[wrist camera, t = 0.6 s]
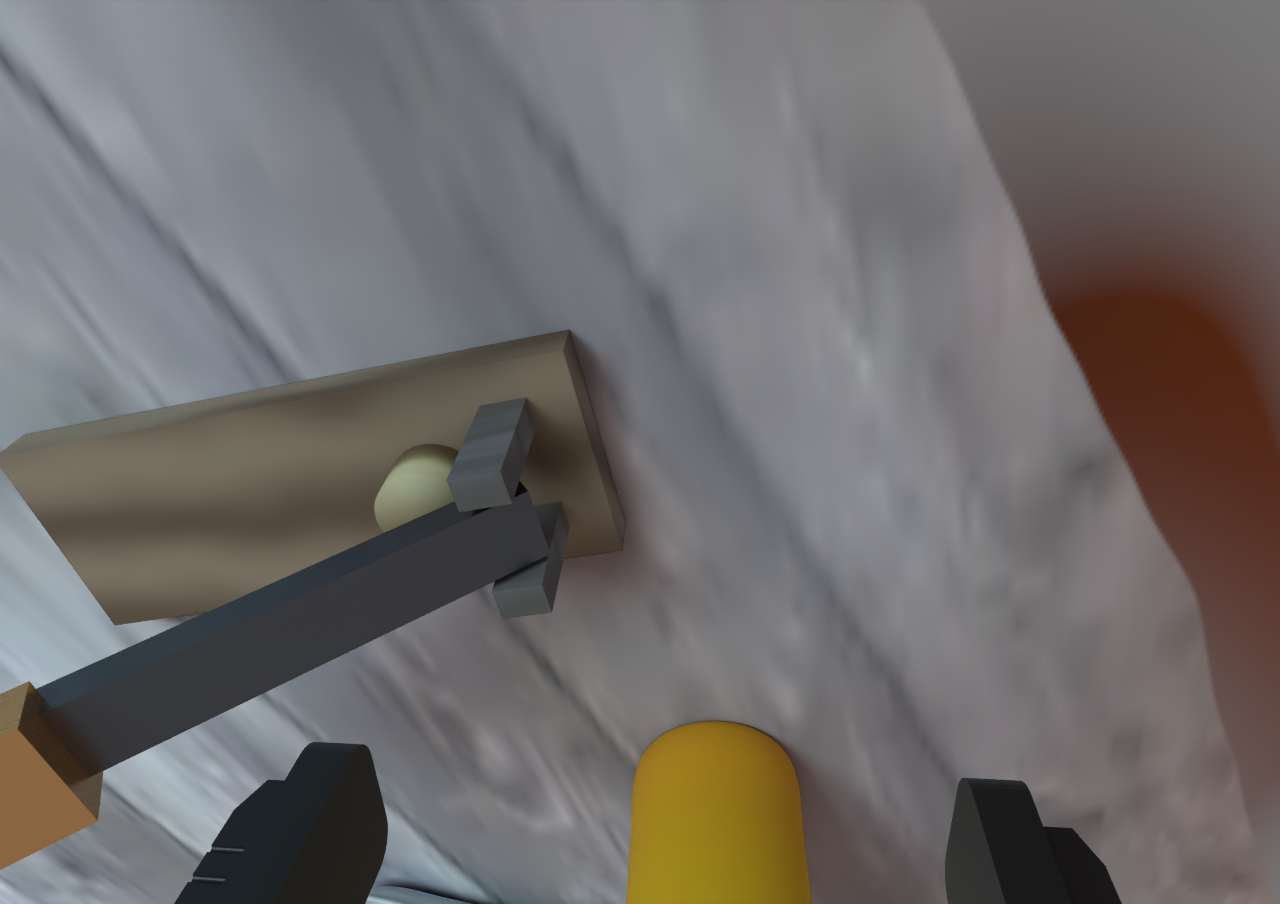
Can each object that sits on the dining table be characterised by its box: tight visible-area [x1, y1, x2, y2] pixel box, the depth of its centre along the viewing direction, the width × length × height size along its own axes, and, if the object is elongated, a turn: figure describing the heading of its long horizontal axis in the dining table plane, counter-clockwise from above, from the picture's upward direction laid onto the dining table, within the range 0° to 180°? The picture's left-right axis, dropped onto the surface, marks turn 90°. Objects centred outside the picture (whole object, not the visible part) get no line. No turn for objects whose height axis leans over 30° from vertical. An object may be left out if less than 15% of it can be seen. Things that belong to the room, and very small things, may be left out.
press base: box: [0, 330, 625, 625], centre depth 36 cm, size 10×26×8 cm, turn 103°
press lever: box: [0, 480, 550, 870], centre depth 29 cm, size 4×24×3 cm, turn 103°
